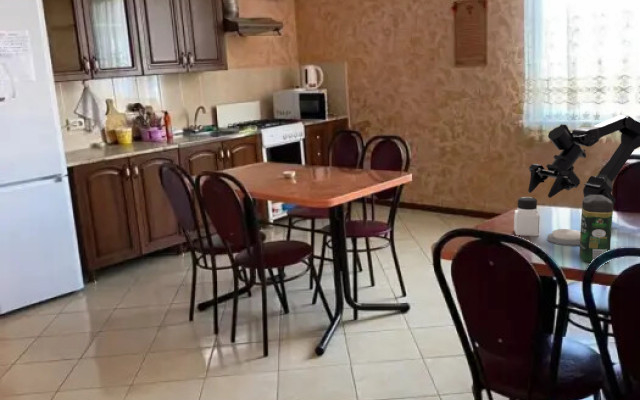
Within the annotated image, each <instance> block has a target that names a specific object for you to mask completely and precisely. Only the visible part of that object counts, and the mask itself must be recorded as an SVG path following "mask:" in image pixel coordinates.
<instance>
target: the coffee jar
mask: <svg viewBox="0 0 640 400" xmlns="http://www.w3.org/2000/svg"><path fill="white" fill-rule="evenodd" d="M581 204H582V205H581V215H580V216H581V217H580V245H579V258H580V259H581V260H582V261H583V262H586V263H590V262H591V261H592V260H593V259H595V258H596V257H597V256H599V255H600V254H602V253H604V252H606V251H608V250H610V251H611V242H612V227H613V226H612V225H613V215H614V214H613V213H614V206H613V203H612V201H611V200H610V199H609V198H607V197H605V196H604V195H588V196H587V197H585V198H584V197H583V198H582V203H581Z"/></svg>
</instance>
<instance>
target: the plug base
mask: <svg viewBox="0 0 640 400" xmlns="http://www.w3.org/2000/svg"><path fill="white" fill-rule="evenodd" d="M580 232H581V230H580V231H579V230H577V229H576V230H575V229H567V228H566V229H565V228H559V229H555V230H553V231H552V233H549V234H547V237H546V240H547V241H548V242H550V243H552V244H556V245H559V246H568V247H570V246H573V247H575V246H578V247H579V246H580Z"/></svg>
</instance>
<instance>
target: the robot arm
mask: <svg viewBox="0 0 640 400" xmlns="http://www.w3.org/2000/svg"><path fill="white" fill-rule="evenodd" d="M617 131H618V132H619V133H620V143H619V145H618V146H617V147H616V150H615V151H614V152H613V154H612V155H611V157H610V158H609V159H608V161H607V163H606V164H605V166H604V167H603V168H602V170H601V171H600V173H599V174H598V175H597V176H596V175H595V176H593V175H591V176H590V177H588V179H587V181H586V182H585V183H584V187H583V189H582V193H583V199H584V198H585V197H587V196H588V195H604V196H605V197H607V198H609V199H610V200H611V201H612V203H613V207H614V206H615V203H616V200H617V199H616V198H615V197H614V196H613V194H612V192H613V182H614V181H615V179H616V178H617V177H618V174H619V173H620V172H621V170H622V168H624V166H625V164H626V163H627V161H628V160H629V158H630V157H631V156H632V153H634V151H635V150H637V149H638V148H640V121H638V120H636V119H634V118H633V117H631V116H630V115H622V114H621V115H616V116H615V117H612V118H610V119H607V120H605V121H602V122H601V123H598V124H594V125H591V126H582V127H576V128H574V129H573V130H571V131H570V129H569V127H568V125H567V124H562V123H561V124H560V125H559V126H556V127H555V128H553V129H552V130H550V131H549V133H548V135H547V137H548V139H549V140H550V141H551V143H552V144H553V145H554V147H555V148H556V149H557V150H558V151H560V153H558V155H557V154H555V155H554V156H553V158H554V160H553V162H552V163H551V164H549V163H548V164H547V165H546V168H547V169H546V168H544V166H543V165H541V164H537V163H532V164H531V165H530V166H529V167H528V171H529V172H530V180H529V185H528V189H527V191H528V193H529V194H531V193H532V192H533V191H535V189H536V188H537V187H538V186H539V185H540V184H541V183H545V181H546V180H547V179H548V178H554V182H553V184H552V186H551V187H550V190H549V192H548V195H547V197H548V198H549V199H551V198H552V197H553V196H556V195H557V194H558V193H560V192H562V191H564V190H565V191H566V190H567V191H570V190H571V189H574V188H575V189H577V188H578V187H579V185H580V184H581V179H580V178H579V176H578V175H577V174H576V172H574V169H575V166H574V164H575V163H576V162H577V161H578V159H579V158H584V159H585V158H587V154H586V150H585V149H583V148H582V147H592V146H594V145H595V144H597V143H599V142H600V140H601V138H603V137H605V136H608V135H610V134H613V133H615V132H617ZM581 146H582V147H581Z"/></svg>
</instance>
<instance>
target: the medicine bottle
mask: <svg viewBox="0 0 640 400" xmlns="http://www.w3.org/2000/svg"><path fill="white" fill-rule="evenodd" d="M537 208H538V200H537V198H535V197H532V196H523V197H518V199H517V209H515V210H514V216H513V217H514V221H513V232H514V233H515V236H519V235H520V236H519V237H521V236H526V237H530V236H531V237H538V236H539V233H540V214H539V213H538V211H537Z"/></svg>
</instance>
